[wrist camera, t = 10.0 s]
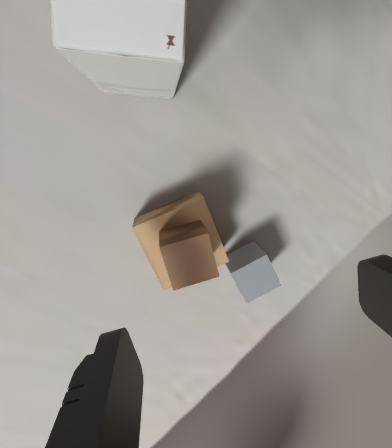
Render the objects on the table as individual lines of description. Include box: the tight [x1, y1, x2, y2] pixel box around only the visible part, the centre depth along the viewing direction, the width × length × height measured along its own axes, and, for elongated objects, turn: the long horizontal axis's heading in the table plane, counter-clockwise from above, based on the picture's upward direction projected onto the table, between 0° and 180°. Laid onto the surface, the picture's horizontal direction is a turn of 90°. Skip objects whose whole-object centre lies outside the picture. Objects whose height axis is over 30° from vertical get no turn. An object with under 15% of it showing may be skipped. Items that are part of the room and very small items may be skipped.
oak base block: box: [132, 191, 229, 290], centre depth 30 cm, size 8×8×4 cm
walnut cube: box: [159, 220, 219, 290], centre depth 26 cm, size 4×4×4 cm
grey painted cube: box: [225, 241, 281, 303], centre depth 32 cm, size 4×4×4 cm
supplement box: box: [50, 0, 187, 99], centre depth 20 cm, size 7×7×13 cm
